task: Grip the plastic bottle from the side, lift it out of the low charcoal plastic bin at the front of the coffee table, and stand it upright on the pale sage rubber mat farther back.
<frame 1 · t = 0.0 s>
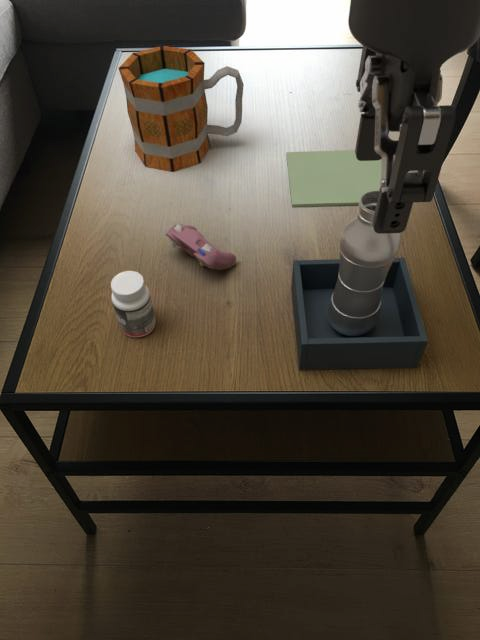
hand: (377, 191, 41), 30 cm above the table, tool pointing down, fingers open, 8 cm apart
mat: (336, 178, 90), on the table
pink curved plastic piece: (201, 259, 79), on the table
pill bottle: (138, 325, 72), on the table
bin: (350, 325, 71), on the table
mug: (190, 148, 97), on the table
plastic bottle: (350, 323, 70), resting on bin
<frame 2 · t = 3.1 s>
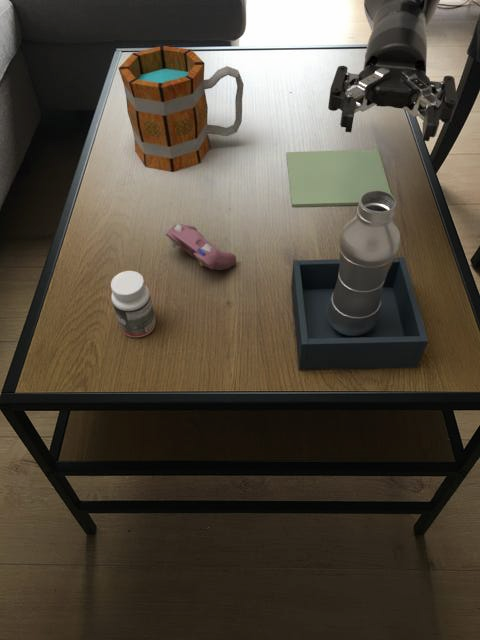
hand: (388, 129, 59), 22 cm above the table, tool horizontal, fingers open, 8 cm apart
nothing on the table moved.
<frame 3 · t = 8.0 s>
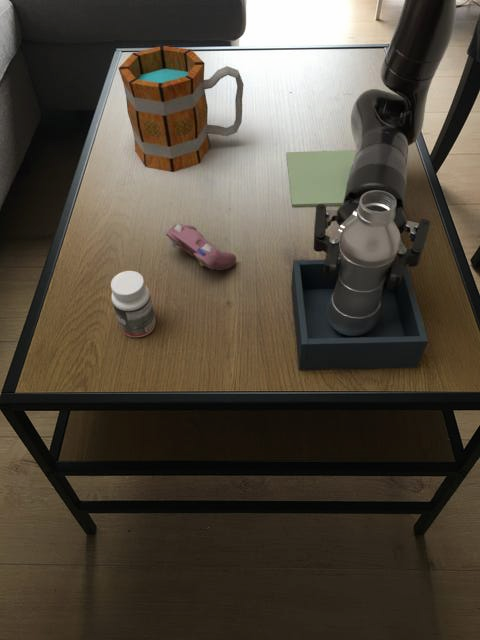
hand: (361, 278, 60), 12 cm above the table, tool horizontal, fingers closed on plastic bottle, 6 cm apart
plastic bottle: (350, 323, 70), resting on bin, touching gripper
everything else where it was.
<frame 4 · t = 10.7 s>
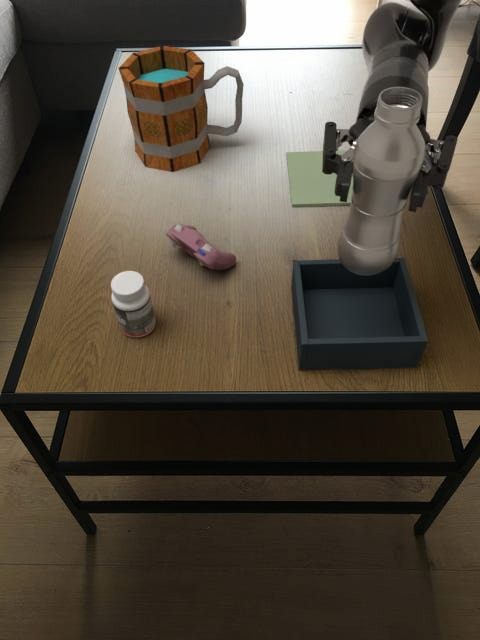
hand: (379, 199, 51), 23 cm above the table, tool horizontal, fingers closed on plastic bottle, 6 cm apart
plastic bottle: (364, 263, 62), point 11 cm above the table, touching gripper
everything else where it was.
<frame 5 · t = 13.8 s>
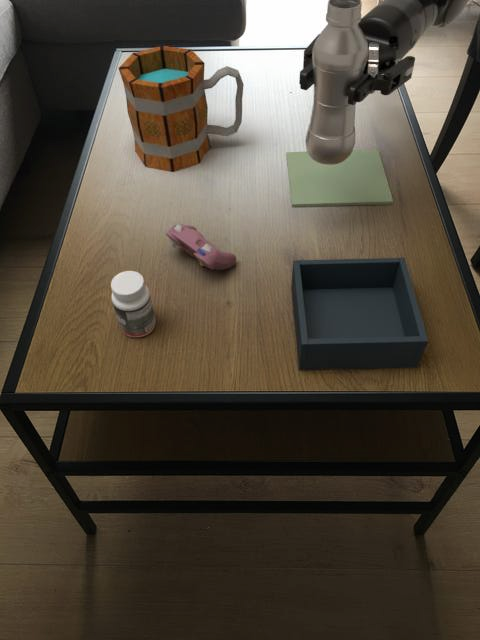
hand: (326, 89, 65), 22 cm above the table, tool horizontal, fingers closed on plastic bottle, 6 cm apart
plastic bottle: (328, 158, 75), point 11 cm above the table, touching gripper
everything else where it was.
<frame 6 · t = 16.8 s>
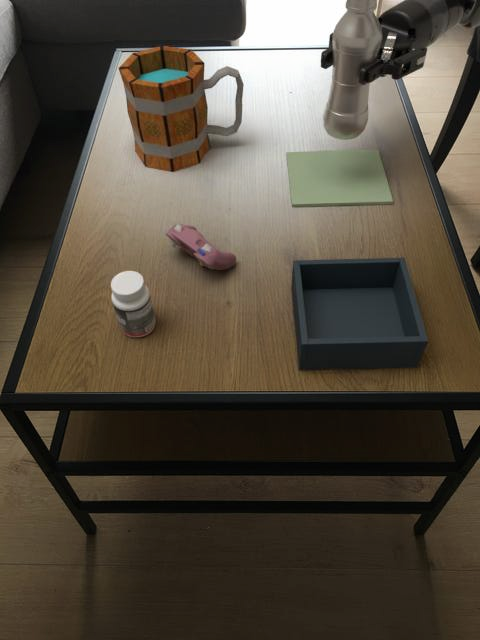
hand: (342, 69, 74), 19 cm above the table, tool horizontal, fingers closed on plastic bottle, 6 cm apart
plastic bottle: (343, 134, 83), point 8 cm above the table, touching gripper
everything else where it was.
when the fingers open (12 cm above the table, at t = 19.5 s): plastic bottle stays where it is, resting on mat.
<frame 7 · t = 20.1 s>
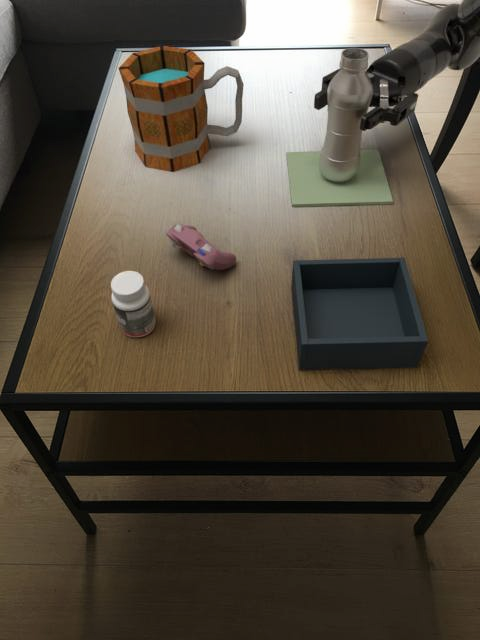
hand: (338, 113, 79), 13 cm above the table, tool horizontal, fingers open, 8 cm apart
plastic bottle: (337, 176, 90), resting on mat
everything else where it was.
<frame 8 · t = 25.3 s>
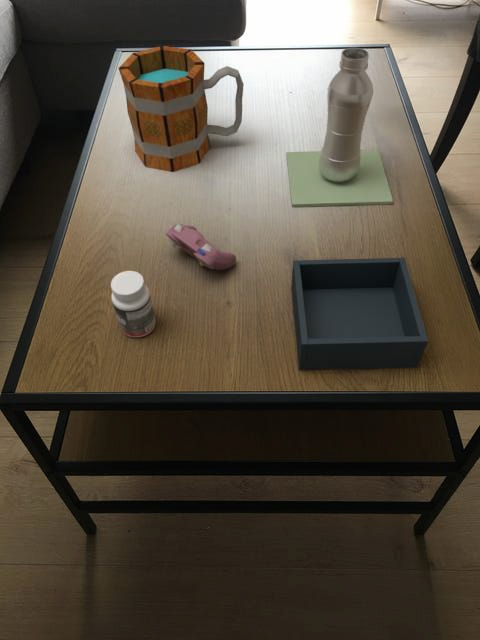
nothing on the table moved.
at the end: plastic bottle inside the target area on the mat (0.1 cm from its centre), point 0.4 cm above the mat's base; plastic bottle tilted 0°; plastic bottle touching mat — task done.
